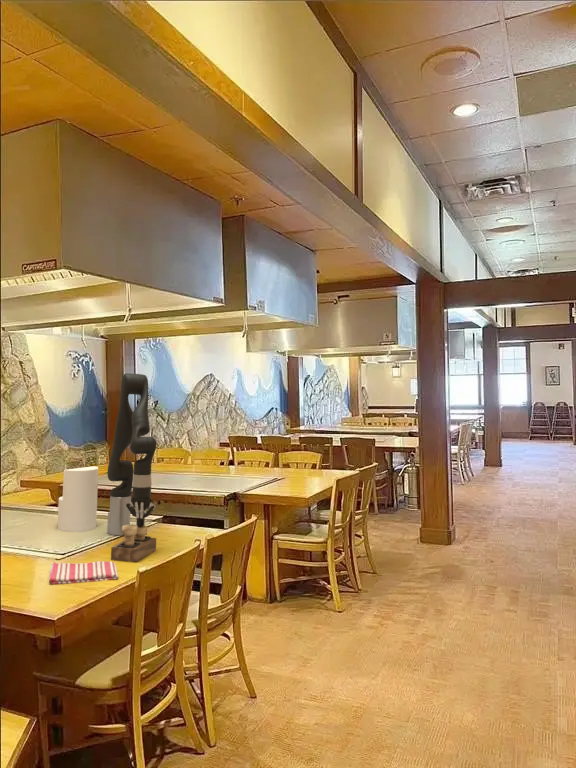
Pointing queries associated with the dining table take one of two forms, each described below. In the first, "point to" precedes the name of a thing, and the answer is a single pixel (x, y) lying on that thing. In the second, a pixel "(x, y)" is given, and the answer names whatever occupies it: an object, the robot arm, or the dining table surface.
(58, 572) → the dish towel
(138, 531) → the peg
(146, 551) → the socket block
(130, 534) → the peg
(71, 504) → the cylinder
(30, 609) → the dining table surface
